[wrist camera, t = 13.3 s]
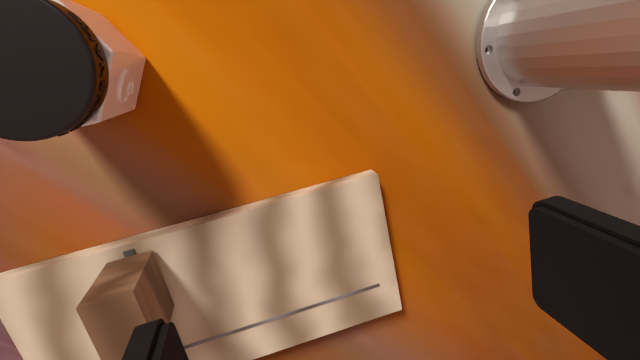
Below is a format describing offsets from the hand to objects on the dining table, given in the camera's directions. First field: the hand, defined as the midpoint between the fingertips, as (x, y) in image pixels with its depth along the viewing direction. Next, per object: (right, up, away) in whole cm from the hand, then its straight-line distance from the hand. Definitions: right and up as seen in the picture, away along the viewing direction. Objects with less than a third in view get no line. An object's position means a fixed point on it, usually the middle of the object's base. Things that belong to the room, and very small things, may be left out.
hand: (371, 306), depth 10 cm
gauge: (-17, -10, +27) cm, 33 cm away
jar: (-20, +12, +22) cm, 33 cm away
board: (-12, -8, +30) cm, 33 cm away
